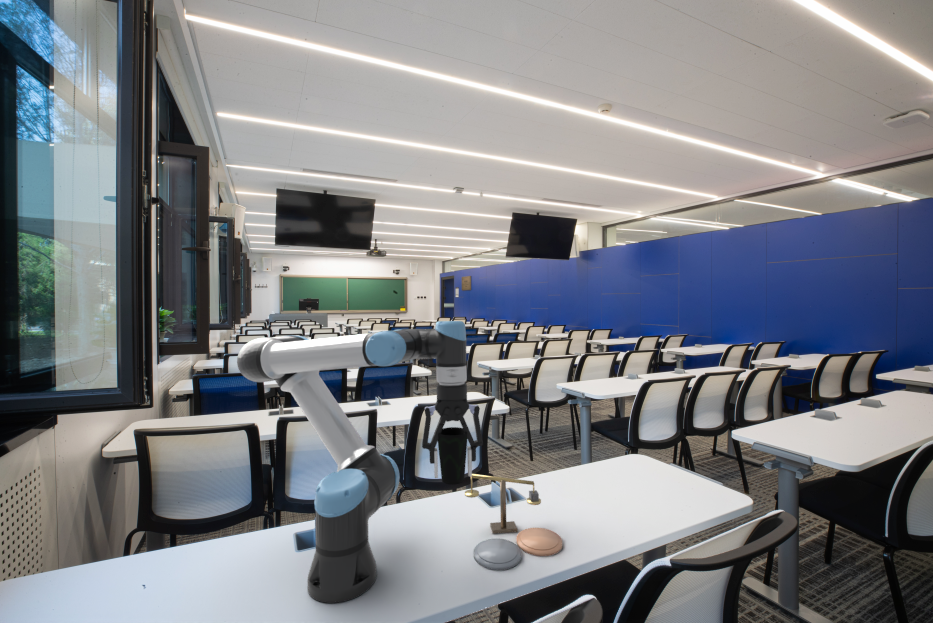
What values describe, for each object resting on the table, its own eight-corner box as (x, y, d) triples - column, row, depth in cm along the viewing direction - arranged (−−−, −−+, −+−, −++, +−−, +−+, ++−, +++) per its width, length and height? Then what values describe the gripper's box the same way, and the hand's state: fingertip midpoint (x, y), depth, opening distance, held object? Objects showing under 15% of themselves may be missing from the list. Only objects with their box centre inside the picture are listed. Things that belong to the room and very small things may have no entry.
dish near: (476, 572, 95) (476, 566, 95) (471, 543, 107) (470, 539, 107) (526, 567, 96) (526, 562, 96) (515, 540, 108) (515, 535, 108)
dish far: (522, 558, 100) (522, 553, 100) (512, 532, 112) (512, 528, 112) (569, 554, 101) (569, 549, 101) (553, 529, 113) (553, 525, 113)
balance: (466, 535, 110) (465, 477, 111) (464, 528, 114) (463, 471, 115) (543, 530, 113) (542, 472, 113) (539, 522, 117) (538, 467, 117)
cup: (464, 487, 95) (464, 436, 95) (433, 485, 96) (433, 435, 97) (471, 474, 102) (470, 427, 103) (442, 473, 104) (441, 426, 104)
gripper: (409, 386, 95) (410, 483, 95) (495, 383, 97) (496, 478, 97) (410, 381, 102) (411, 471, 102) (490, 379, 105) (491, 467, 104)
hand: (453, 475), depth 99 cm, fingers closed on cup, 8 cm apart
